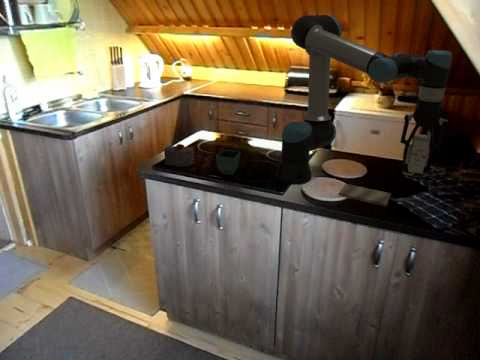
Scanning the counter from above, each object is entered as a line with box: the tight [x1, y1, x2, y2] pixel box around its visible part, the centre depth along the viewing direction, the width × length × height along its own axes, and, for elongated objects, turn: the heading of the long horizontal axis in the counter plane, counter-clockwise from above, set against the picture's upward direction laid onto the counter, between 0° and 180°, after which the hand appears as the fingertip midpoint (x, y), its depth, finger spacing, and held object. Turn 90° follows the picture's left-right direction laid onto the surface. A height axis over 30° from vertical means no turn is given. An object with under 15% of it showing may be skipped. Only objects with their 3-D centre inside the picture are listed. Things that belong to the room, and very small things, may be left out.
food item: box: [163, 143, 195, 168], centre depth 177 cm, size 14×8×10 cm, turn 82°
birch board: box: [338, 183, 392, 207], centre depth 151 cm, size 18×10×1 cm, turn 61°
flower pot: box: [215, 149, 241, 176], centre depth 169 cm, size 9×9×9 cm
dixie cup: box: [401, 147, 415, 176], centre depth 170 cm, size 8×8×11 cm
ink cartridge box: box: [407, 130, 431, 174], centre depth 135 cm, size 9×5×15 cm, turn 161°
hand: (415, 164), depth 138 cm, fingers closed on ink cartridge box, 5 cm apart
